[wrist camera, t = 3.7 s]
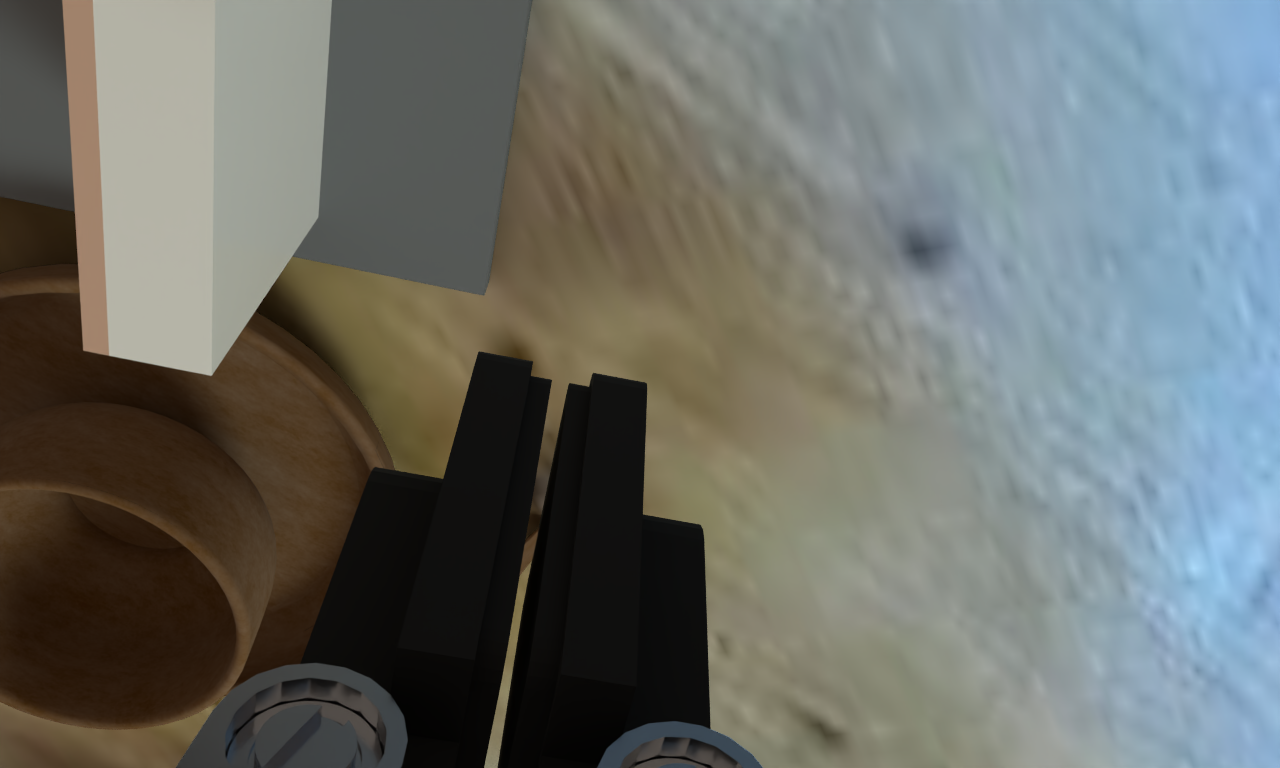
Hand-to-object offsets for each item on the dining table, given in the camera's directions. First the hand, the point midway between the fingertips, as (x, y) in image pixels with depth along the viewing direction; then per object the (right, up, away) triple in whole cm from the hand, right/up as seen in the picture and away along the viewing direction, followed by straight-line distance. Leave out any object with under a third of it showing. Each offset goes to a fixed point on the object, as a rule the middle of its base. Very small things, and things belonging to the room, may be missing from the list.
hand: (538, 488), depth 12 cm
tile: (-6, +8, +10) cm, 14 cm away
